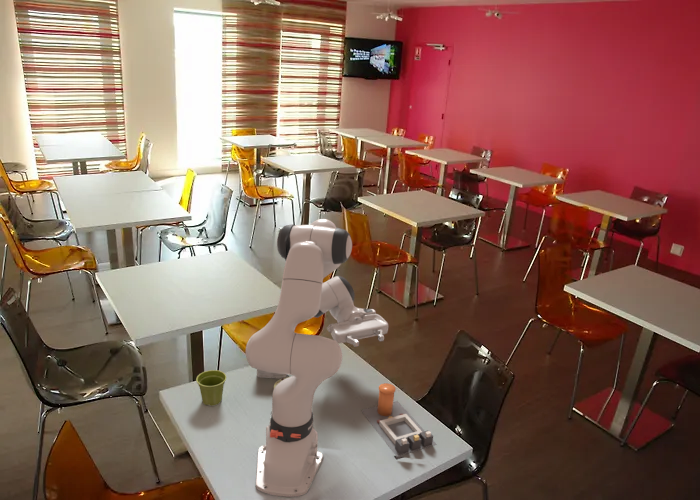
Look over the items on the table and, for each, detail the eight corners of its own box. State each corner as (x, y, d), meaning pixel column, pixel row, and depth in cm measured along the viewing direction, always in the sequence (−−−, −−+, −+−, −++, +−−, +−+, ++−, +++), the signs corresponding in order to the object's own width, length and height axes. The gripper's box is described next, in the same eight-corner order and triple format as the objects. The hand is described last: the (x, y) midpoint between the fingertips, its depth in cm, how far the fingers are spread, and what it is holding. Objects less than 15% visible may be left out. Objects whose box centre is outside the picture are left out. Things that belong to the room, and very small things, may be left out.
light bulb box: (288, 369, 195) (289, 343, 191) (286, 379, 189) (287, 353, 185) (259, 367, 195) (259, 341, 191) (256, 377, 188) (256, 351, 185)
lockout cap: (392, 417, 171) (395, 394, 168) (376, 415, 171) (378, 392, 168) (392, 407, 176) (395, 384, 173) (376, 405, 176) (379, 382, 173)
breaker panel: (436, 447, 161) (438, 433, 159) (396, 459, 155) (398, 445, 153) (397, 403, 180) (398, 390, 178) (360, 412, 174) (361, 399, 172)
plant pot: (192, 398, 175) (191, 375, 172) (218, 388, 181) (218, 366, 178) (204, 413, 168) (204, 389, 166) (231, 402, 174) (231, 380, 171)
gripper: (325, 318, 183) (342, 340, 172) (377, 308, 192) (396, 328, 181) (324, 333, 186) (340, 356, 175) (376, 323, 194) (394, 344, 183)
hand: (369, 342), depth 178 cm, fingers open, 8 cm apart
